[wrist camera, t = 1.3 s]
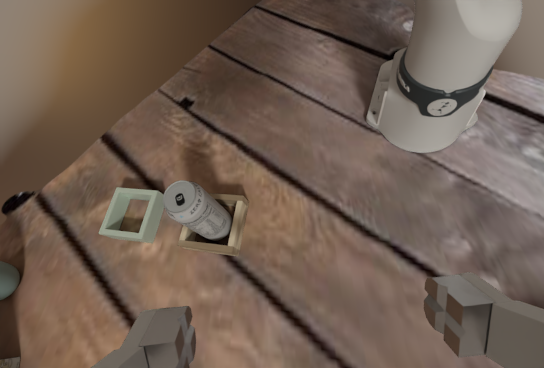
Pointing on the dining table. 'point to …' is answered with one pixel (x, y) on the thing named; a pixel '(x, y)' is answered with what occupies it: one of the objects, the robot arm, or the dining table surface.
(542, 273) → the dining table surface
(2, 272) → the cup
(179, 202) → the energy drink can
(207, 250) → the birch holder
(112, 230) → the sage socket
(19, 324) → the dining table surface
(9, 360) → the coffee box
